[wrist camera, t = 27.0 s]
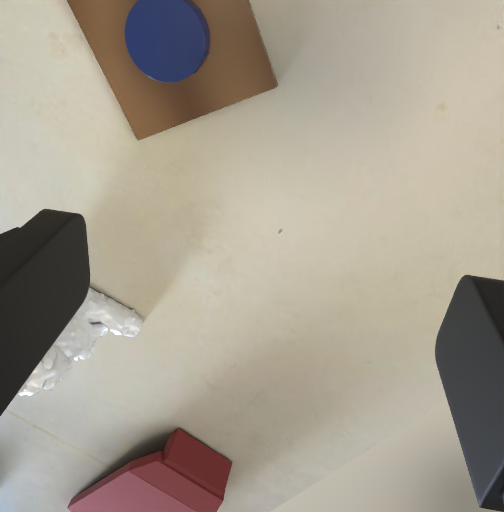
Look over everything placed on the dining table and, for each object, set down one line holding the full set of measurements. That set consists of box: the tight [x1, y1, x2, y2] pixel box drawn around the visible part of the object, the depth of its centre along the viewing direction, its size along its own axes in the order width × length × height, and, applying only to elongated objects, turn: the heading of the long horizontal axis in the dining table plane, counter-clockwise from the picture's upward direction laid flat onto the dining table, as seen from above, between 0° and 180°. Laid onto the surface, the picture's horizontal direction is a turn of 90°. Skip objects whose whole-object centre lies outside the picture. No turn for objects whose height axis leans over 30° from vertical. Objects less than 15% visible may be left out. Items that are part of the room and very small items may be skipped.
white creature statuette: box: [18, 287, 144, 395], centre depth 43 cm, size 10×9×12 cm
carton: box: [67, 429, 232, 512], centre depth 62 cm, size 12×5×25 cm
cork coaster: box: [67, 0, 278, 140], centre depth 34 cm, size 12×12×1 cm
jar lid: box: [125, 0, 210, 83], centre depth 33 cm, size 6×6×2 cm
